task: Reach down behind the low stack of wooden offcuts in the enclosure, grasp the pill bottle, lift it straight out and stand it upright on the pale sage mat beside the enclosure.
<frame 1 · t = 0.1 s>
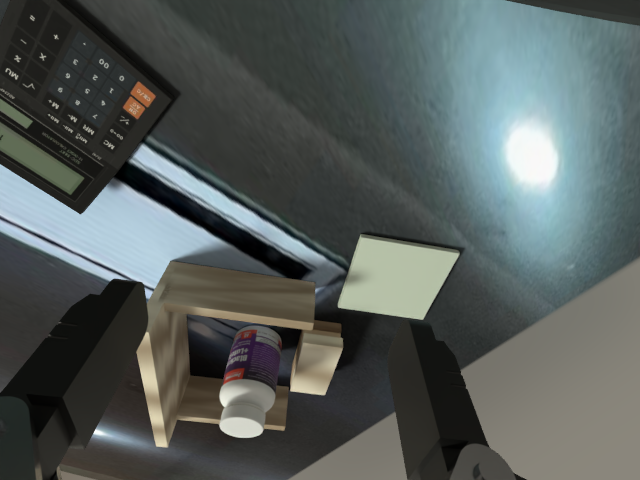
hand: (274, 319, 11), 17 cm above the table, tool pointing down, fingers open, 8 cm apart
offcut stack: (315, 344, 40), on the table
sage mat: (394, 278, 33), on the table
pill bottle: (258, 337, 39), on the table
enclosure: (258, 339, 39), on the table
calculator: (73, 104, 24), on the table
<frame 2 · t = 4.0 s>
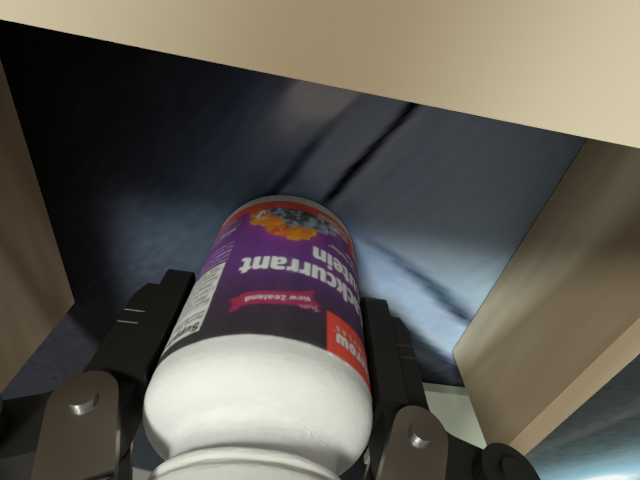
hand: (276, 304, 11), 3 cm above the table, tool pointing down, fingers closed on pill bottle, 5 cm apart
sage mat: (451, 429, 22), on the table
pill bottle: (286, 247, 14), on the table, touching gripper
enclosure: (286, 250, 14), on the table
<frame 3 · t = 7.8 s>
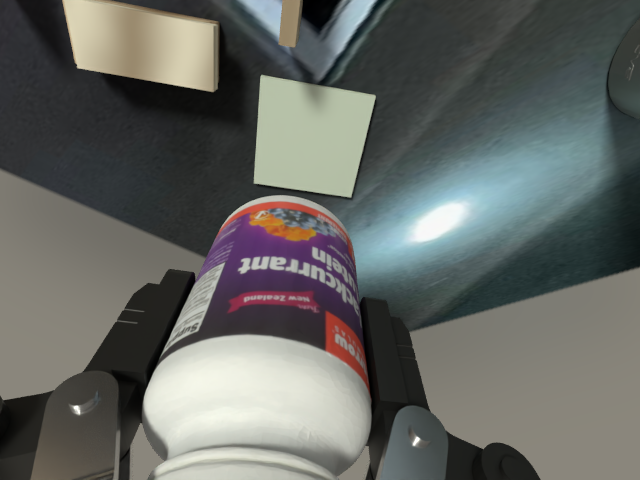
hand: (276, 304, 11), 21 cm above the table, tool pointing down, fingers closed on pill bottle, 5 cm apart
offcut stack: (158, 41, 26), on the table
sage mat: (310, 141, 30), on the table
pill bottle: (286, 247, 14), point 18 cm above the table, touching gripper
when the fingers open (5 cm above the table, at t = 11.4 s): pill bottle drops 1 cm, resting on sage mat.
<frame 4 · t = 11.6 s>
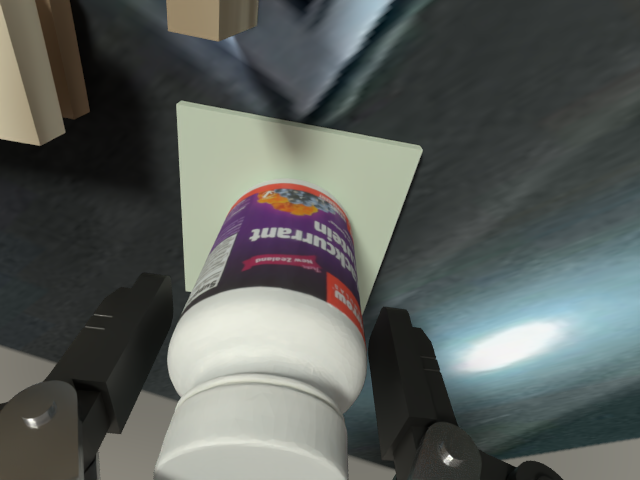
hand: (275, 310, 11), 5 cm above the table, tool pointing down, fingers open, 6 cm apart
sage mat: (288, 224, 15), on the table
pill bottle: (289, 228, 15), resting on sage mat
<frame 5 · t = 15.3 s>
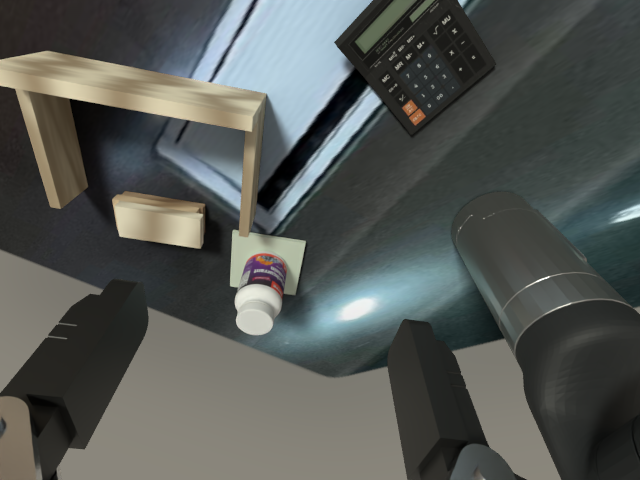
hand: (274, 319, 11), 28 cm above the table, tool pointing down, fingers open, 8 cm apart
offcut stack: (167, 211, 41), on the table
sage mat: (266, 263, 46), on the table
pill bottle: (266, 265, 45), resting on sage mat
enclosure: (166, 162, 38), on the table
calculator: (413, 51, 32), on the table
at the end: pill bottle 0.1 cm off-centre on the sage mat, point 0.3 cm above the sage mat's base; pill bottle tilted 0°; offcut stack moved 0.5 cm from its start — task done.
